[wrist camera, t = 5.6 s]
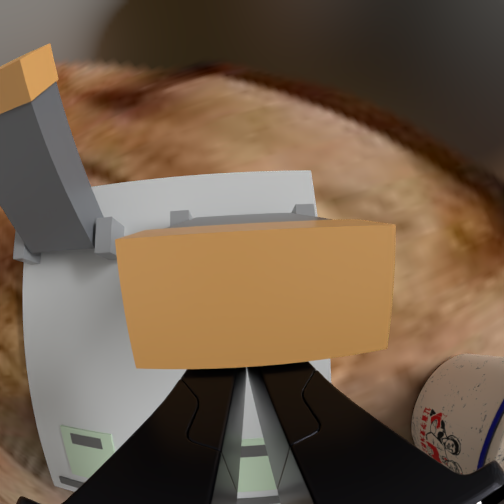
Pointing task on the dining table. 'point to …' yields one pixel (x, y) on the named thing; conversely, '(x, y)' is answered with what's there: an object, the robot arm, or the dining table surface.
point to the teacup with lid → (462, 413)
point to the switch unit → (115, 327)
